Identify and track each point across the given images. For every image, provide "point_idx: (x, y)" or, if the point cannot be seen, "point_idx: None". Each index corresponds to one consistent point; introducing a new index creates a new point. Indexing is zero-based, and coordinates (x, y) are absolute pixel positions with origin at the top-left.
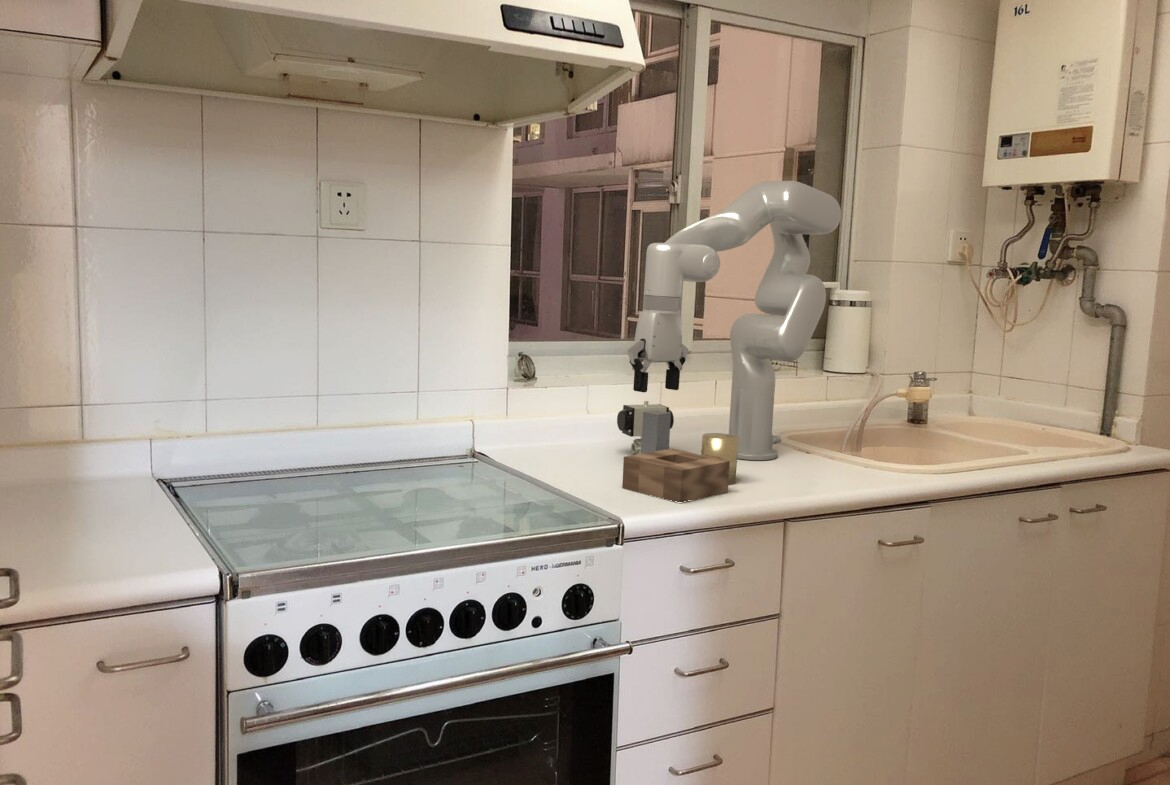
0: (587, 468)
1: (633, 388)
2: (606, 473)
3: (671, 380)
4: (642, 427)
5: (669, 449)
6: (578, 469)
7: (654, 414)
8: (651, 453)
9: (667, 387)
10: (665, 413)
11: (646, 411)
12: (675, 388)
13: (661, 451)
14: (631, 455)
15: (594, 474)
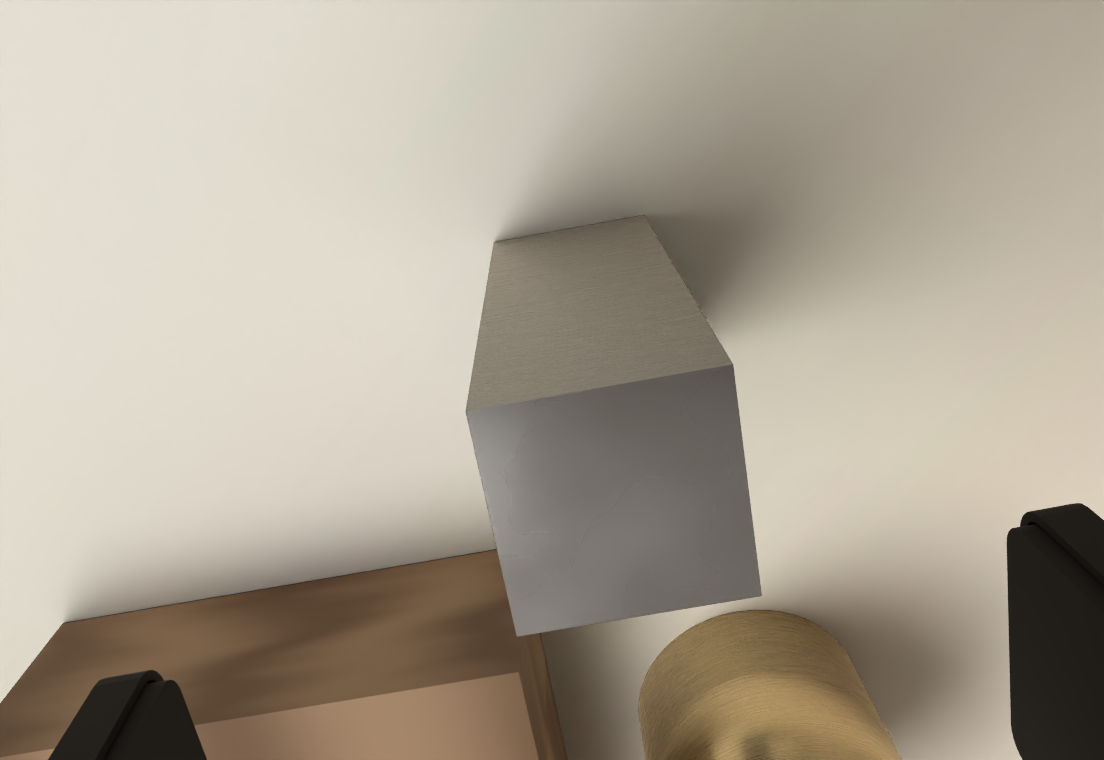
0: (105, 19)
1: (95, 688)
2: (171, 240)
3: (1101, 754)
4: (477, 348)
5: (471, 690)
6: (12, 20)
7: (507, 583)
8: (235, 749)
9: (1014, 582)
10: (664, 606)
11: (529, 406)
12: (1020, 748)
13: (358, 723)
14: (36, 751)
15: (63, 230)
